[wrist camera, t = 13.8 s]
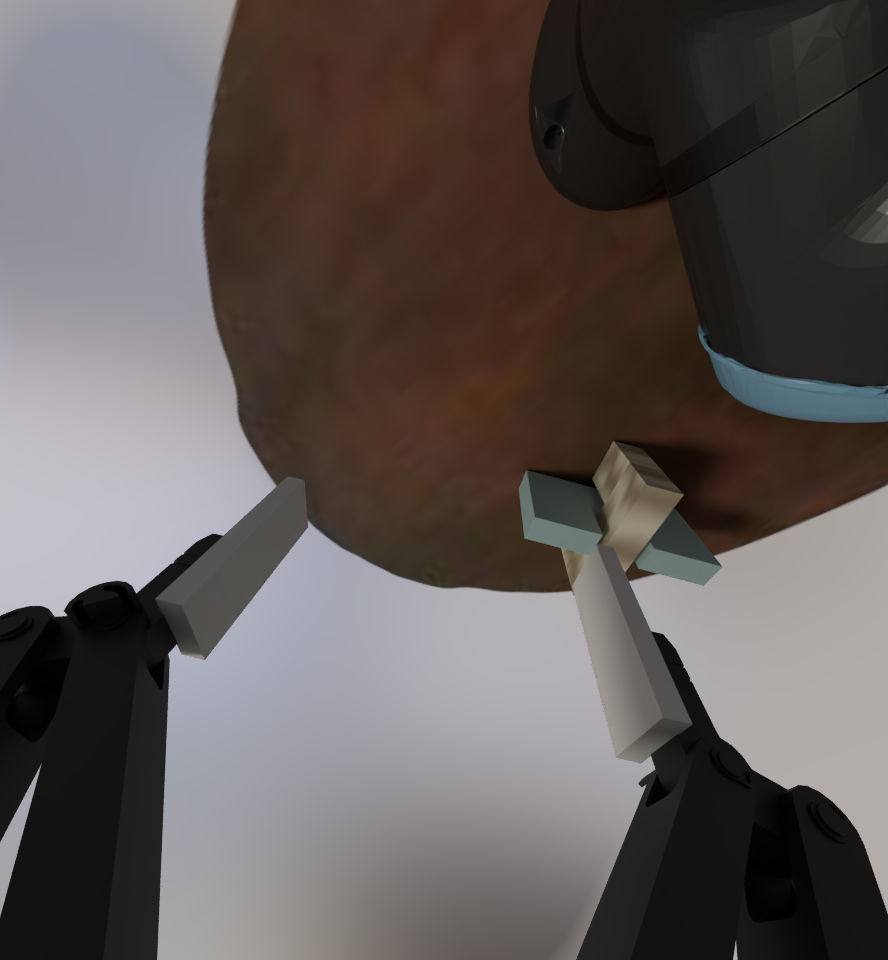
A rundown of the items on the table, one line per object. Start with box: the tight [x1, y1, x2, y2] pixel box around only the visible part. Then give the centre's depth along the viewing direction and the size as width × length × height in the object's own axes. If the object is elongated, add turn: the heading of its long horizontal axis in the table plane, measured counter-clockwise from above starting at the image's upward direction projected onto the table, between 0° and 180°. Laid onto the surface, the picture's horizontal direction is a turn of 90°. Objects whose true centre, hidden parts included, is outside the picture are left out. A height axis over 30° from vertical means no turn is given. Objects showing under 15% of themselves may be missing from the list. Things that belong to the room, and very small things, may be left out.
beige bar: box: [561, 441, 684, 595], centre depth 38 cm, size 16×4×10 cm, turn 167°
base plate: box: [519, 470, 722, 585], centre depth 38 cm, size 20×3×10 cm, turn 77°
